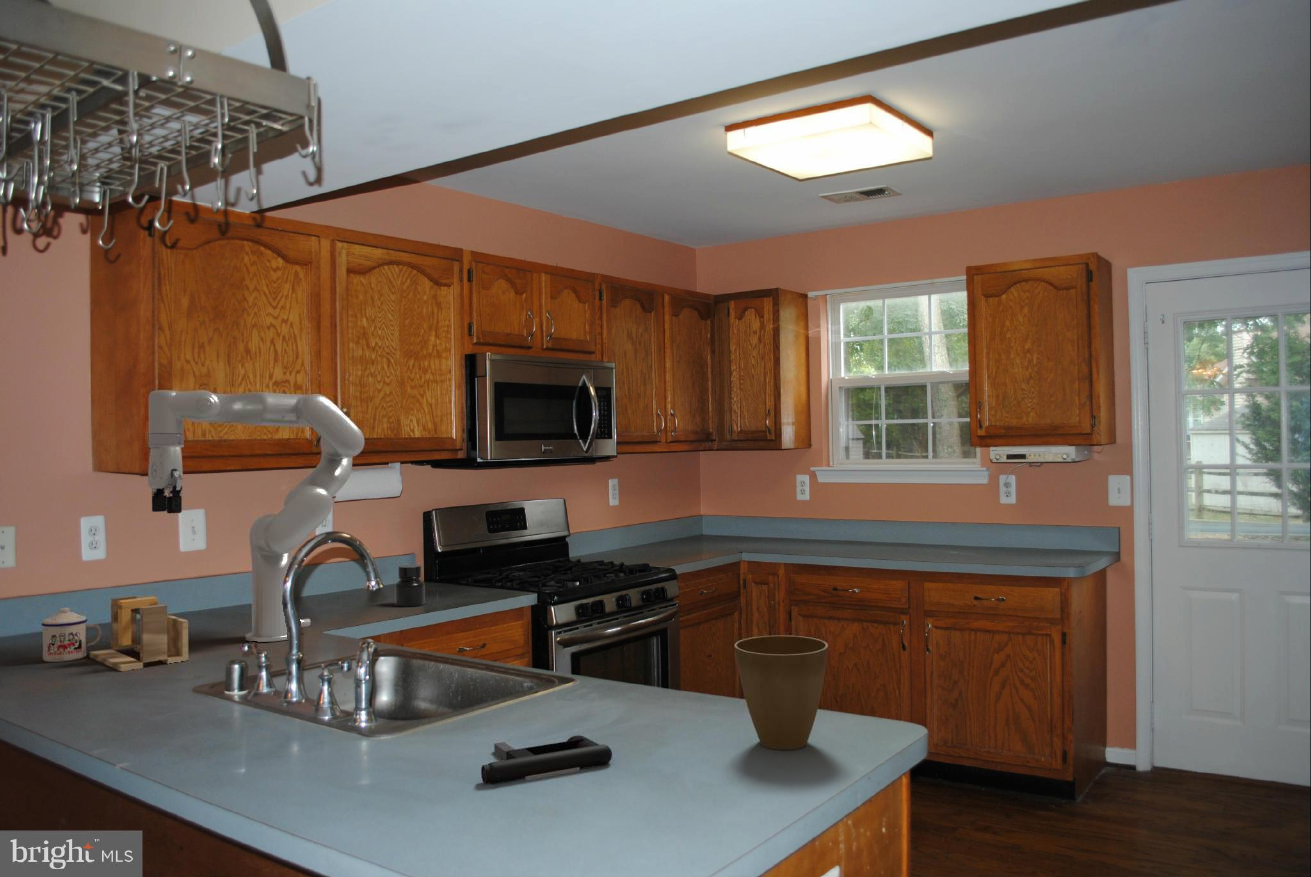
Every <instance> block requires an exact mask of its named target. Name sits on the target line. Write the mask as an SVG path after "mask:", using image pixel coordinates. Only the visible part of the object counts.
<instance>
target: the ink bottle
mask: <svg viewBox="0 0 1311 877" xmlns="http://www.w3.org/2000/svg"><path fill="white" fill-rule="evenodd" d="M421 577H422V566H421V564H420V565H419V564H406V565H398V579H399V580H398V581H397V582H396V583H395V585H394V603H395V604H394V605H395V606H396V607H402V608H406V607H418V606H419V607H420V606H423V605H425V599H426V598H425V594H426V591H425V590H426V589H425V588H426V587H425V583H424V581H422V580H421Z"/></svg>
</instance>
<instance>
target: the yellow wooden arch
mask: <svg viewBox="0 0 1311 877" xmlns="http://www.w3.org/2000/svg"><path fill="white" fill-rule="evenodd" d="M156 605H159V598H158V597H156V596H146V597H137V599H129V600H120V601H118V643H119V644H120V645H122V646H124V645H130V644H131V609H135V608H140V607H148V606H156Z"/></svg>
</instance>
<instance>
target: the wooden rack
mask: <svg viewBox="0 0 1311 877" xmlns="http://www.w3.org/2000/svg"><path fill="white" fill-rule="evenodd" d="M137 598H138V597H137V596H135V595H130V596H121V597H112V598H110V648H108V649H100V650H95V651H90V652H89V658H91V659H93V660H96V661H98V662H99V663H102V664H104V665H106V666H107V667H111V668H113V669H115V670H117V671H119V672H121V671H122V672H127V671H128V672H129V671H133V670H132V669H134V670H140V668H141V669H144V663H149V662H156V661H159V660H161V661H163V662H162V663H164V662H166V663H167V665H170V664H169V663H172V664H175V663H174V662H178V663H182V662H181V661H185V662H187V661H186V660H188V661H189V620H187V619H184V618H181V617H178V616H174V615H171V614H168V605H167V604H158V605H156V606H148V607H140V608H135V609H131V644H130V645H124V646H122V645H120V644H119V643H118V601H120V600H129V599H137ZM137 615H139V616H140V617H139V625H140V626H139V630H140V631H139V635H140V636H139V637H140V638H139V643H140V644H137V643H138V641H137V640H138V639H137V637H138V636H137V635H138V627H137V626H138V625H137V623H138V622H137V621H138V620H137V618H138V616H137ZM130 648H133V649H134V650H135V651H134V650H133V651H134V652H136V653H139V652H140V654H139V658H140V659H139V660H140V661H139V660H137V659H136V658H132V657H131V656H128V655H126V654H124V653H121V652H119V651H117V650H124V649H130ZM161 661H160V662H161ZM166 663H165V664H166Z"/></svg>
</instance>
